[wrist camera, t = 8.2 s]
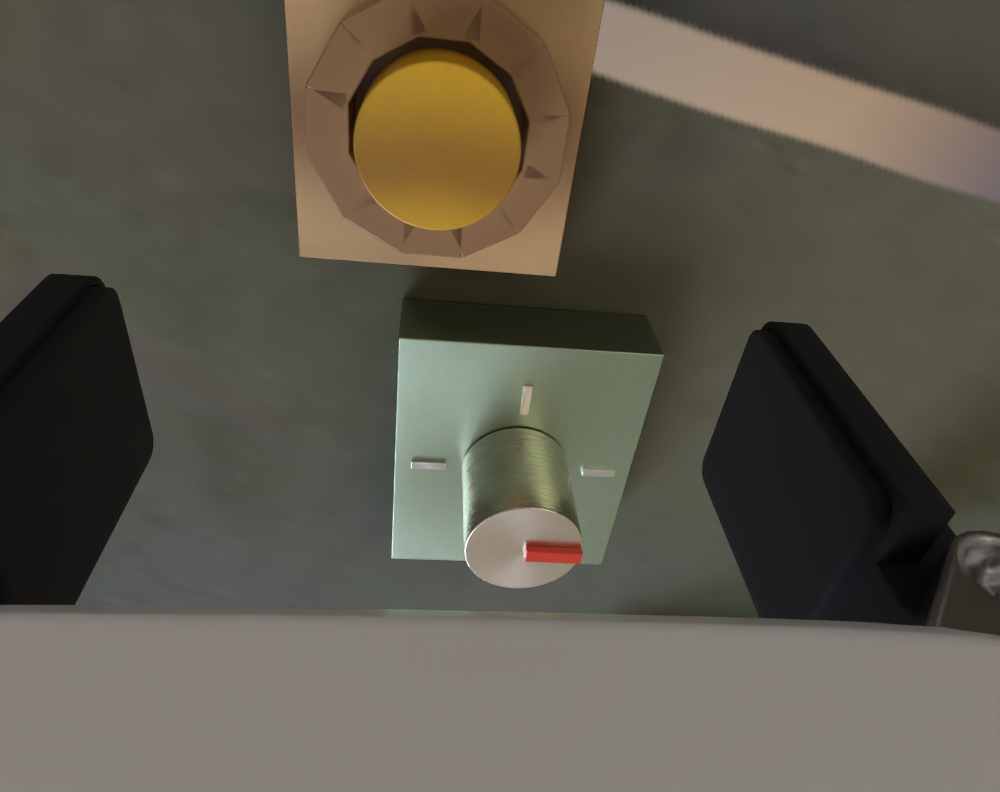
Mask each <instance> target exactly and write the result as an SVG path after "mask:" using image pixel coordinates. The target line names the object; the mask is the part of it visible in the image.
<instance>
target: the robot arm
mask: <svg viewBox="0 0 1000 792" xmlns="http://www.w3.org/2000/svg"><path fill="white" fill-rule="evenodd" d="M152 451H153V433H152V429H151V425H150V421H149V417H148V413H147V409H146V405H145V401H144V397H143V393H142V389H141V385H140V381H139V377H138V373H137V369H136V364H135V360H134V356H133V352H132V348H131V344H130V340H129V336H128V332H127V328H126V324H125V320H124V316H123V312H122V308H121V304H120V300H119V297H118V294H117V292H116V291H115V290H114V289H113V288H107V287H105V285H104V284H103V282H102V281H101V279H99V278H98V277H95V276H81V275H66V274H50V275H48V276H47V277H46V278H45V279H44V280H43V281H42V282H41V283H40V284H39V285H37V286H36V287H35V288H34V289H33V290H32V291H31V292H30V293H29V294H28V295H27V296H26V297H25V298H24V299H23V300H22V301H21V302H20V303H19V304H18V305H17V306H16V307H15V308H14V309H13V310H12V311H11V312H10V313H9V314H8V315H7V316H6V317H5V318H4V319H3V320H2V321H1V322H0V792H1000V534H997V533H992V532H987V531H967V532H965V533H962V534H960V535H958V536H956V535H955V534H954V532H953V531H952V530H951V528H950V527H949V526H948V522H949V521H950V519H951V518H952V517H953V515H954V514H955V511H954V510H953V509H952V507H951V506H950V505H949V503H948V502H947V501H946V500H945V498H944V497H943V496H942V495H941V493H940V492H939V491H938V489H937V488H936V487H935V486H934V484H933V483H932V482H931V480H930V479H929V478H928V477H927V475H926V474H925V473H924V472H923V470H922V469H921V468H920V466H919V465H918V464H917V463H916V461H915V460H914V459H913V457H912V456H911V455H910V454H909V452H908V451H907V450H906V448H905V447H904V446H903V445H902V443H901V442H900V441H899V440H898V438H897V437H896V436H895V434H894V433H893V432H892V431H891V429H890V428H889V427H888V425H887V424H886V423H885V422H884V420H883V419H882V418H881V417H880V415H879V414H878V413H877V411H876V410H875V409H874V408H873V406H872V405H871V404H870V402H869V401H868V400H867V399H866V397H865V396H864V395H863V394H862V392H861V391H860V390H859V388H858V387H857V386H856V385H855V383H854V382H853V381H852V379H851V378H850V377H849V376H848V374H847V373H846V372H845V371H844V369H843V368H842V367H841V365H840V364H839V363H838V362H837V360H836V359H835V358H834V356H833V355H832V354H831V353H830V351H829V350H828V349H827V348H826V346H825V345H824V344H823V342H822V341H821V340H820V339H819V337H818V336H817V335H816V333H815V332H814V331H813V330H812V328H811V327H810V326H808V325H807V324H799V323H784V322H768V323H766V324H765V325H764V326H763V327H762V329H761V330H755V331H753V332H752V334H751V335H750V337H749V339H748V341H747V344H746V347H745V350H744V352H743V355H742V358H741V360H740V363H739V366H738V368H737V371H736V374H735V376H734V379H733V382H732V384H731V387H730V390H729V392H728V395H727V398H726V400H725V403H724V406H723V408H722V411H721V414H720V417H719V419H718V422H717V425H716V427H715V430H714V433H713V435H712V438H711V441H710V443H709V446H708V449H707V451H706V454H705V457H704V460H703V466H702V475H703V480H704V483H705V486H706V488H707V491H708V493H709V495H710V498H711V500H712V503H713V505H714V508H715V510H716V513H717V515H718V517H719V520H720V522H721V525H722V527H723V530H724V532H725V535H726V537H727V539H728V542H729V544H730V547H731V549H732V552H733V554H734V557H735V559H736V561H737V564H738V566H739V569H740V571H741V574H742V576H743V579H744V581H745V583H746V586H747V588H748V591H749V593H750V596H751V598H752V601H753V603H754V605H755V608H756V610H757V613H758V615H759V618H744V617H705V616H665V615H626V614H587V613H542V612H495V611H447V610H395V609H343V608H279V607H211V606H144V605H75V603H76V601H77V599H78V598H79V596H80V594H81V592H82V590H83V588H84V586H85V584H86V582H87V580H88V578H89V576H90V574H91V572H92V570H93V569H94V567H95V565H96V563H97V561H98V559H99V557H100V555H101V553H102V551H103V549H104V547H105V545H106V543H107V541H108V539H109V538H110V536H111V534H112V532H113V530H114V528H115V526H116V524H117V522H118V520H119V518H120V516H121V514H122V512H123V510H124V509H125V507H126V505H127V503H128V501H129V499H130V497H131V495H132V493H133V491H134V489H135V487H136V485H137V483H138V481H139V479H140V478H141V476H142V474H143V472H144V470H145V468H146V466H147V464H148V462H149V460H150V458H151V455H152Z"/></svg>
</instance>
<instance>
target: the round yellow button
mask: <svg viewBox="0 0 1000 792" xmlns="http://www.w3.org/2000/svg"><path fill="white" fill-rule="evenodd" d="M353 150H354V158H355V162H356V166H357V169H358V172H359V175H360V177H361V179H362V182H363V184H364V186H365V187H366V189H367V190H368V192H369V193H370V195H371V196H372V197H373V198H374V200H375V201H376V202H377V203H378V204H379V205H380V206H381V207H382V208H383V209H384V210H385V211H387V212H388V213H389V214H391V215H392V216H394V217H395V218H397V219H399V220H401V221H402V222H405V223H407V224H409V225H412V226H415V227H419V228H422V229H429V230H452V229H457V228H462V227H465V226H468V225H470V224H473V223H475V222H477V221H479V220H481V219H483V218H484V217H486V216H487V215H488V214H490V213H491V212H492V211H493V210H494V209H496V208H497V207H498V206H499V205H500V203H501V202H502V201H503V200H504V199H505V197H506V196H507V194H508V193H509V191H510V190H511V188H512V186H513V184H514V182H515V179H516V176H517V173H518V170H519V165H520V160H521V136H520V131H519V126H518V122H517V119H516V115H515V112H514V109H513V106H512V103H511V100H510V98H509V96H508V94H507V92H506V90H505V88H504V87H503V85H502V84H501V82H500V81H499V80H498V78H497V77H496V76H495V75H494V74H493V73H492V72H491V71H490V70H489V69H488V68H487V67H486V66H485V65H483V64H482V63H480V62H479V61H477V60H476V59H474V58H472V57H470V56H468V55H466V54H463V53H460V52H457V51H454V50H449V49H443V48H429V49H421V50H417V51H413V52H410V53H407V54H405V55H403V56H401V57H399V58H397V59H395V60H394V61H392V62H391V63H390V64H388V65H387V66H386V67H385V68H383V70H382V71H381V72H380V73H379V74H378V75H377V76H376V77H375V79H374V80H373V82H372V83H371V85H370V86H369V88H368V90H367V92H366V94H365V97H364V99H363V102H362V105H361V107H360V110H359V113H358V116H357V119H356V122H355V127H354V134H353Z"/></svg>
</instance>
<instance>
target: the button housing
mask: <svg viewBox="0 0 1000 792" xmlns="http://www.w3.org/2000/svg"><path fill="white" fill-rule="evenodd" d="M603 6H604V0H285V16H286V33H287V50H288V67H289V84H290V101H291V118H292V135H293V152H294V169H295V186H296V203H297V219H298V236H299V253H300V256H301V257H312V258H325V259H338V260H351V261H363V262H376V263H389V264H402V265H415V266H428V267H441V268H454V269H467V270H480V271H493V272H506V273H519V274H532V275H544V276H556V272H557V266H558V261H559V255H560V249H561V244H562V238H563V232H564V227H565V221H566V215H567V210H568V204H569V198H570V193H571V187H572V181H573V176H574V170H575V164H576V159H577V153H578V148H579V142H580V136H581V131H582V125H583V119H584V114H585V108H586V102H587V97H588V91H589V85H590V80H591V74H592V68H593V62H594V57H595V51H596V46H597V40H598V34H599V28H600V23H601V17H602V12H603ZM429 48H443V49H449V50H454V51H457V52H460V53H463V54H466V55H468V56H470V57H472V58H474V59H476V60H477V61H479V62H480V63H482V64H483V65H485V66H486V67H487V68H488V69H489V70H490V71H491V72H492V73H493V74H494V75H495V76H496V77H497V78H498V80H499V81H500V82H501V84H502V85H503V87H504V88H505V90H506V92H507V94H508V96H509V98H510V100H511V103H512V106H513V109H514V112H515V115H516V119H517V122H518V126H519V131H520V136H521V160H520V165H519V170H518V173H517V176H516V179H515V182H514V184H513V186H512V188H511V190H510V191H509V193H508V194H507V196H506V197H505V199H504V200H503V201H502V202H501V203H500V205H499V206H498V207H497V208H496V209H494V210H493V211H492V212H491V213H490V214H488V215H487V216H486V217H484V218H483V219H481V220H479V221H477V222H475V223H473V224H470V225H468V226H465V227H462V228H457V229H452V230H429V229H422V228H419V227H415V226H412V225H409V224H407V223H405V222H402V221H401V220H399V219H397V218H395V217H394V216H392V215H391V214H389V213H388V212H387V211H385V210H384V209H383V208H382V207H381V206H380V205H379V204H378V203H377V202H376V201H375V200H374V198H373V197H372V196H371V195H370V193H369V192H368V190H367V189H366V187H365V186H364V184H363V182H362V179H361V177H360V175H359V172H358V169H357V166H356V162H355V158H354V150H353V134H354V127H355V122H356V119H357V116H358V113H359V110H360V107H361V105H362V102H363V99H364V97H365V94H366V92H367V90H368V88H369V86H370V85H371V83H372V82H373V80H374V79H375V77H376V76H377V75H378V74H379V73H380V72H381V71H382V70H383V68H385V67H386V66H387V65H388V64H390V63H391V62H392V61H394V60H395V59H397V58H399V57H401V56H403V55H405V54H407V53H410V52H413V51H417V50H421V49H429Z"/></svg>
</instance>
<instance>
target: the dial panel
mask: <svg viewBox="0 0 1000 792" xmlns="http://www.w3.org/2000/svg"><path fill="white" fill-rule="evenodd" d="M663 357H664V354H663V352H662V350H661V348H660V345H659V343H658V341H657V339H656V337H655V334H654V332H653V330H652V328H651V326H650V323H649V321H648V319H647V317H646V316H636V315H622V314H608V313H594V312H580V311H566V310H552V309H538V308H524V307H510V306H496V305H483V304H469V303H455V302H441V301H427V300H413V299H403V302H402V311H401V320H400V329H399V338H398V367H397V397H396V428H395V458H394V488H393V518H392V548H391V558H392V559H426V560H460V561H466V560H465V557H464V539H463V495H462V465H463V461H464V458H465V456H466V454H467V452H468V451H469V449H470V448H471V447H472V446H473V445H474V444H475V443H476V442H477V441H479V440H480V439H481V438H483V437H485V436H487V435H488V434H491V433H493V432H496V431H499V430H504V429H510V428H525V429H531V430H536V431H539V432H541V433H544V434H546V435H548V436H549V437H551V438H552V439H553V440H554V441H556V442H557V443H558V444H559V446H560V447H561V448H562V450H563V452H564V454H565V457H566V461H567V466H568V471H569V476H570V481H571V486H572V491H573V496H574V501H575V506H576V511H577V515H578V520H579V525H580V530H581V535H582V540H583V547H582V551H583V556H582V560H581V563H580V564H596V565H601V564H602V561H603V558H604V555H605V551H606V548H607V545H608V541H609V538H610V535H611V531H612V528H613V525H614V521H615V518H616V515H617V511H618V508H619V505H620V501H621V498H622V495H623V491H624V488H625V484H626V481H627V478H628V474H629V471H630V468H631V464H632V461H633V458H634V454H635V451H636V448H637V444H638V441H639V438H640V434H641V431H642V428H643V424H644V421H645V418H646V414H647V411H648V408H649V404H650V401H651V397H652V394H653V391H654V387H655V384H656V381H657V377H658V374H659V371H660V367H661V364H662V361H663Z"/></svg>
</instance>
